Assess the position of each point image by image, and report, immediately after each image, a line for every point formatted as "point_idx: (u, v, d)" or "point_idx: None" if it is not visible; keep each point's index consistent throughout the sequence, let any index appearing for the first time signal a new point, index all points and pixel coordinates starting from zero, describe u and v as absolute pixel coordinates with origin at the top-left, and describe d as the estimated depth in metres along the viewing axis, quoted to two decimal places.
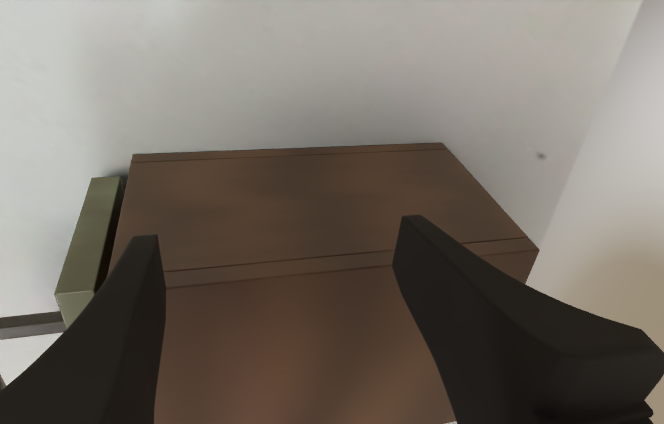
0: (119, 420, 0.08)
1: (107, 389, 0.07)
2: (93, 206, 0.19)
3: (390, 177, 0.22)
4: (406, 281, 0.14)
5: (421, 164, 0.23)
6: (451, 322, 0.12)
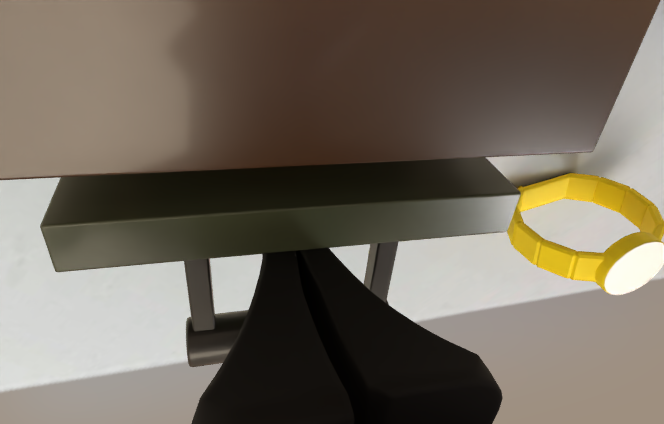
0: None
1: (324, 357, 0.08)
2: None
3: None
4: None
5: None
6: None
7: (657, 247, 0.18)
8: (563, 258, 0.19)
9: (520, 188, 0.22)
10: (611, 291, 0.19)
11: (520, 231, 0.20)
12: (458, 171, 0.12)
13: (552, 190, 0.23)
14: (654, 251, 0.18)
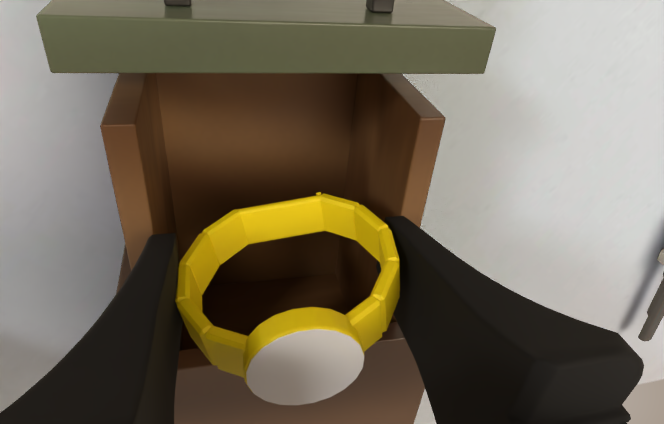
0: (148, 416, 0.08)
1: (138, 385, 0.08)
2: None
3: None
4: None
5: None
6: (431, 325, 0.12)
7: (285, 399, 0.11)
8: (389, 314, 0.12)
9: None
10: (338, 336, 0.10)
11: None
12: None
13: (271, 227, 0.15)
14: (286, 394, 0.11)
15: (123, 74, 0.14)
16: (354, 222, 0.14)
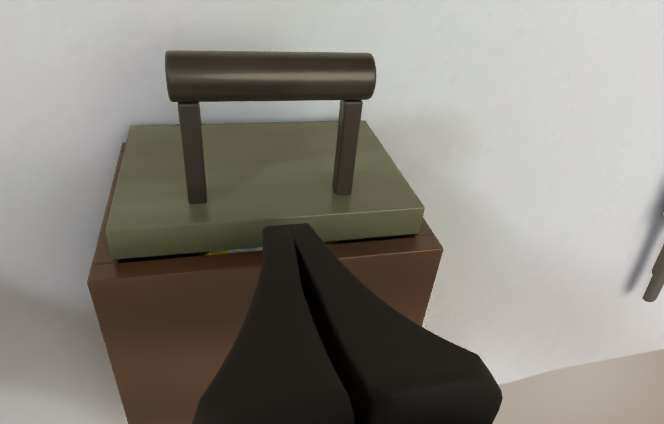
0: None
1: (324, 357, 0.08)
2: None
3: None
4: None
5: None
6: None
7: None
8: None
9: None
10: None
11: None
12: None
13: None
14: None
15: None
16: None
